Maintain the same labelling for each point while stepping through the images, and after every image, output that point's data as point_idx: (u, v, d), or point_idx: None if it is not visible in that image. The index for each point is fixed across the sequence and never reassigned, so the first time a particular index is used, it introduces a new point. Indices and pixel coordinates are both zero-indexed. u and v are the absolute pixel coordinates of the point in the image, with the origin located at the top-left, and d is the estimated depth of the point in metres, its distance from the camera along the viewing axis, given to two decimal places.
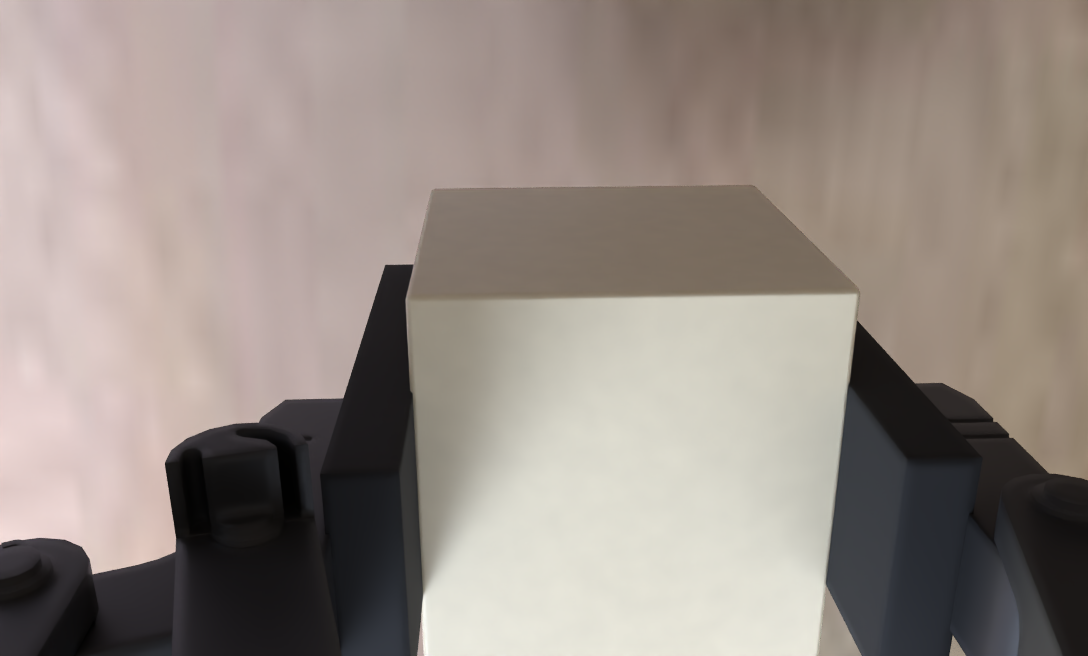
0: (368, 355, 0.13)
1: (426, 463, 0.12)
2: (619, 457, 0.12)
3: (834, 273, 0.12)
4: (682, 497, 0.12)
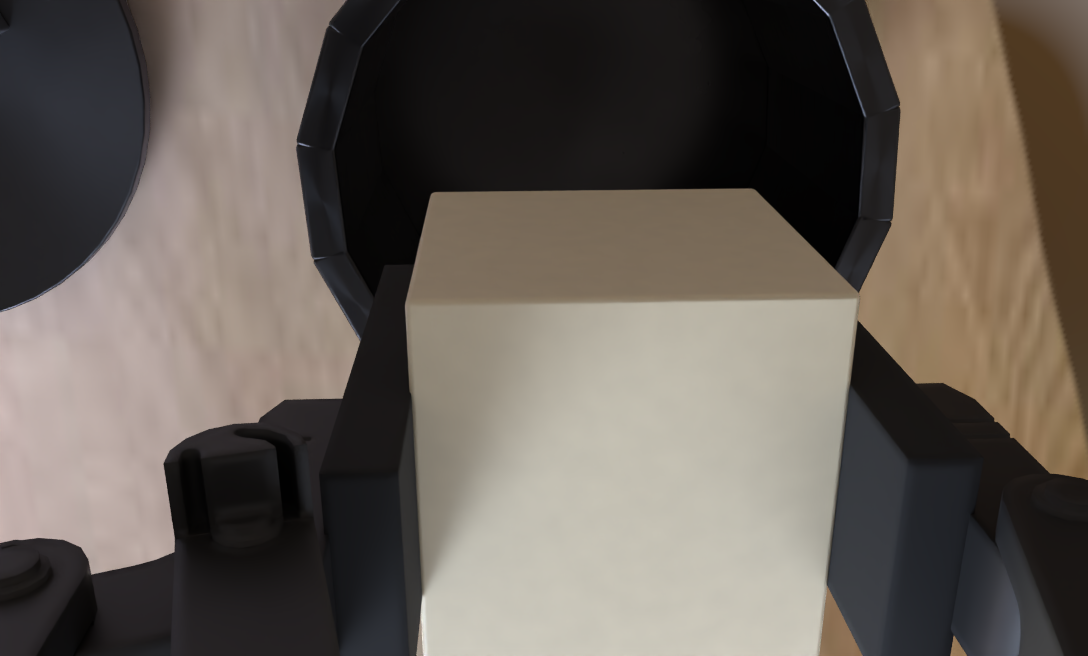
0: (368, 355, 0.13)
1: (426, 466, 0.12)
2: (617, 462, 0.12)
3: (834, 277, 0.12)
4: (683, 501, 0.12)
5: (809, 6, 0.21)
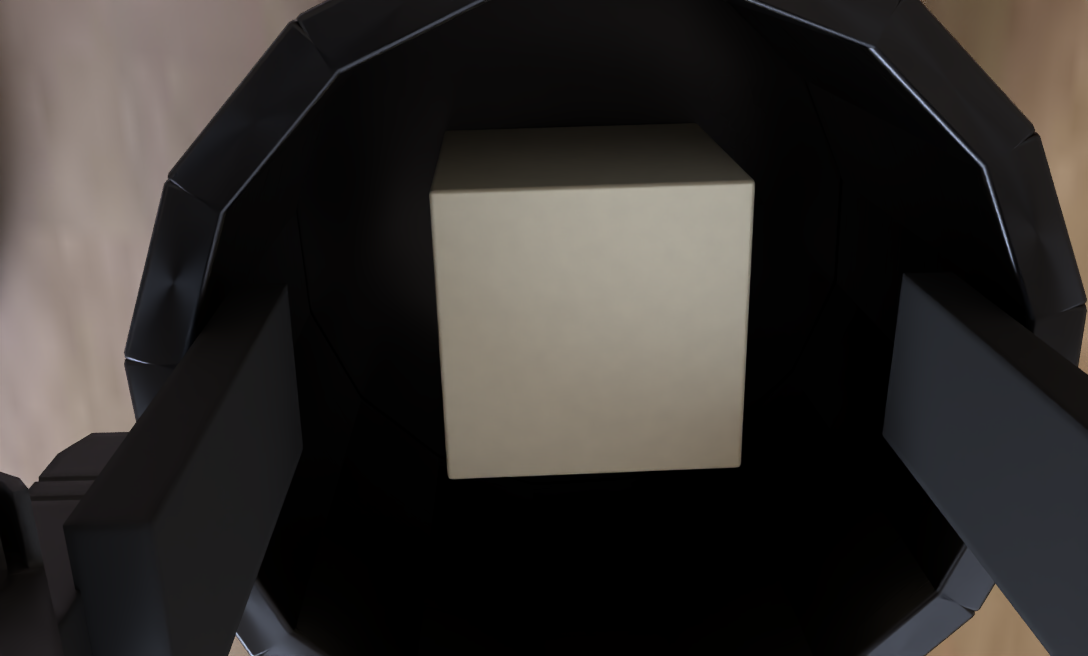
0: (174, 386, 0.12)
1: (446, 315, 0.16)
2: (585, 310, 0.17)
3: (739, 172, 0.16)
4: (634, 339, 0.17)
5: (945, 145, 0.13)
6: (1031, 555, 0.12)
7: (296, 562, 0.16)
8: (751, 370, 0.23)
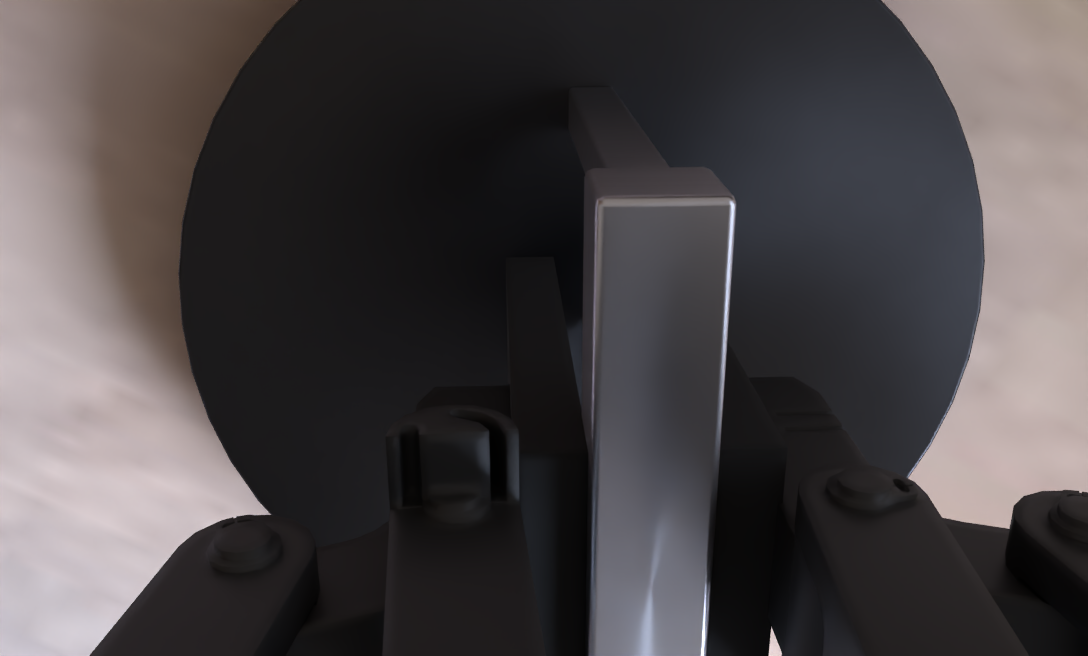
0: (520, 343, 0.13)
1: None
2: None
3: None
4: None
5: None
6: None
7: None
8: None
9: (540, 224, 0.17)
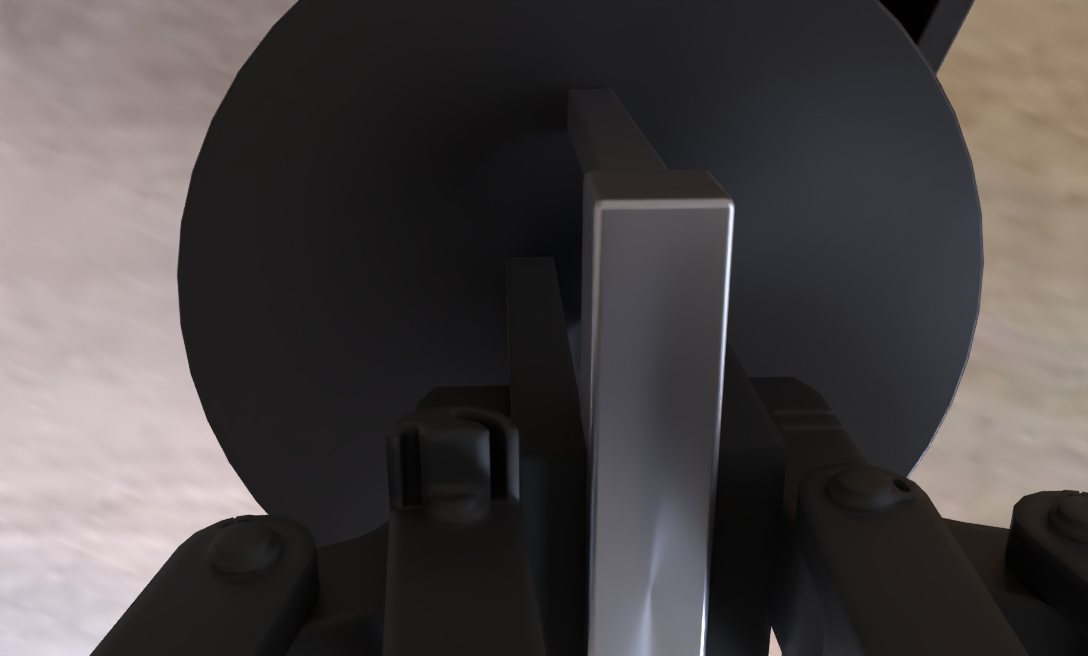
0: (520, 343, 0.13)
1: None
2: None
3: None
4: None
5: None
6: None
7: None
8: None
9: (539, 226, 0.17)
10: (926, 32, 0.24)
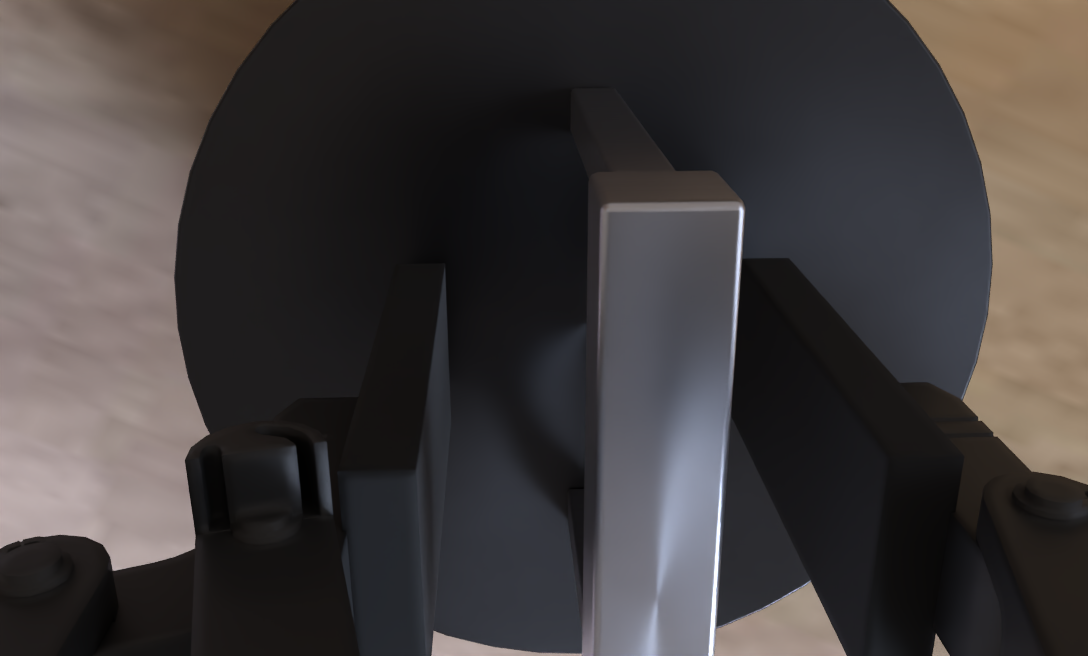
0: (382, 354, 0.13)
1: None
2: None
3: None
4: None
5: None
6: (815, 521, 0.13)
7: None
8: None
9: (541, 227, 0.17)
10: None
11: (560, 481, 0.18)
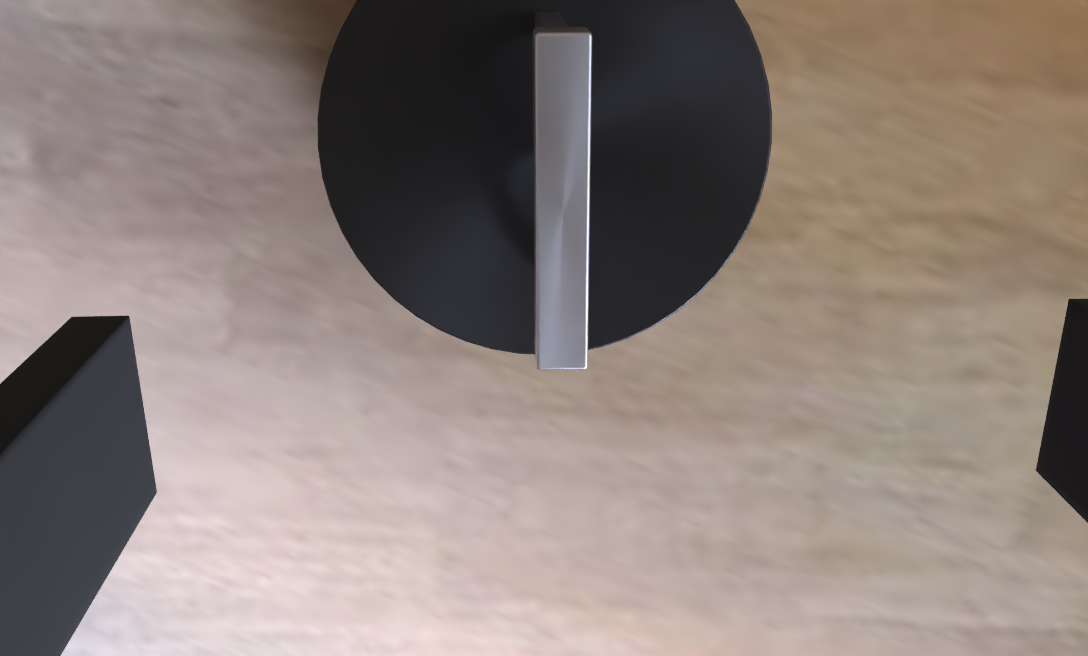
0: None
1: None
2: None
3: None
4: None
5: None
6: None
7: None
8: None
9: (519, 90, 0.30)
10: None
11: (531, 242, 0.32)
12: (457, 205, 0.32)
